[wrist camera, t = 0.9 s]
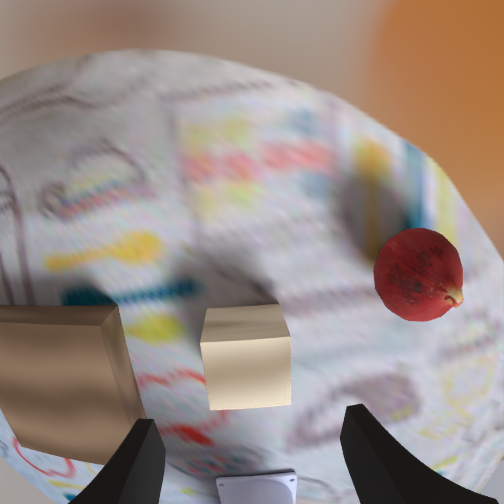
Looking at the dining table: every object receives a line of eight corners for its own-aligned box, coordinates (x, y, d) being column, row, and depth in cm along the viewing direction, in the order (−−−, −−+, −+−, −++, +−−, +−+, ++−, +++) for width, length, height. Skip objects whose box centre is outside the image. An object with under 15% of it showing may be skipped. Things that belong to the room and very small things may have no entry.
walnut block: (155, 439, 25) (147, 470, 21) (36, 423, 25) (21, 446, 21) (119, 302, 22) (100, 325, 18) (-10, 303, 22) (-36, 319, 18)
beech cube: (280, 363, 23) (290, 404, 19) (214, 368, 23) (210, 410, 18) (279, 303, 22) (290, 336, 17) (206, 308, 22) (199, 342, 17)
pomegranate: (348, 291, 22) (396, 344, 15) (368, 212, 21) (432, 231, 13) (412, 301, 23) (472, 348, 15) (433, 230, 22) (504, 254, 14)
